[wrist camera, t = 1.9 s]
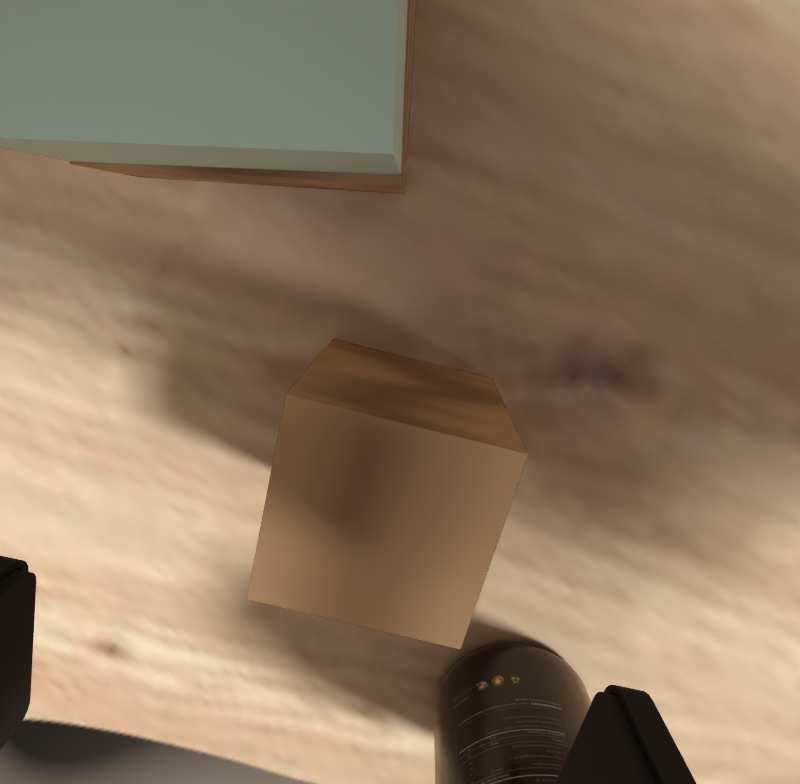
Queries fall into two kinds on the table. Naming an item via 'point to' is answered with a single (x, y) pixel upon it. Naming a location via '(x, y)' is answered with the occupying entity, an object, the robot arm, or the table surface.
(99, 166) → the tower base slab
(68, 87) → the tower top slab
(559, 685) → the supplement bottle
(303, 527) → the walnut block
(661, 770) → the robot arm
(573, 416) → the table surface
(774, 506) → the table surface
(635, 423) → the table surface
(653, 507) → the table surface
